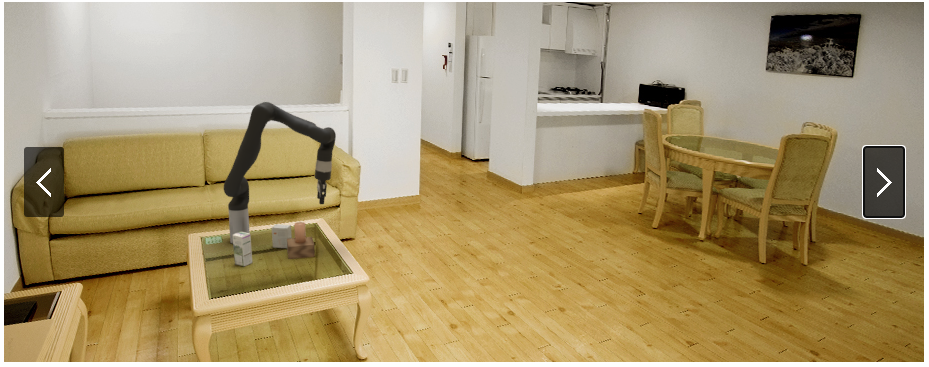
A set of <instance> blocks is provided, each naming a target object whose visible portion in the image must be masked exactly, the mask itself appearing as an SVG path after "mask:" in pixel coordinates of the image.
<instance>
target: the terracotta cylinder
mask: <svg viewBox="0 0 929 367" xmlns="http://www.w3.org/2000/svg"><path fill="white" fill-rule="evenodd" d="M306 234H307V233H306V223H305V222H303V221H298V222H295V223H294V238H295V242H296V243H305V242H306V237H307V235H306Z"/></svg>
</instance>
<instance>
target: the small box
mask: <svg viewBox="0 0 929 367" xmlns="http://www.w3.org/2000/svg"><path fill="white" fill-rule="evenodd" d="M292 234H293V233H292V225H291V224H278V223H276V224H274V225H273V226H272V227H271V236H272V237H271V238H272V240H271V241H272V248H277V249H278V248H279V249H287V239H290V238H293V236H292Z"/></svg>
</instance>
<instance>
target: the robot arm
mask: <svg viewBox="0 0 929 367" xmlns="http://www.w3.org/2000/svg"><path fill="white" fill-rule="evenodd" d="M271 121H272V122H277V123H280V124H283V125H285V126H286V127H288V128H289V129H291V130H292V131H294V132H295V133H298V134H300V135H303V136H306V137H308V138H310V139H312V140H313V141H315V142H317V143H320V144H319V145H320V146H319V147H318V149H317V152H316V161H315V166H314V167H315V168H314V170H315V171H314V179H316V180H317V184H316V190H317V194H316V195H317V196H316V198H317V199H319V200H318V201H319V202H318V203H319V204H318V205H324V204H325V200H326V199H325V198H326V197H327V186H328V183H327V181H329V180H330V181H331V176H332V167H333V166H332V165H333V163H332V161H333V150H334V148H335V147H334V146H335V143H336V132H335V130H334V128H332V127H320V126H318V125H317V124H316V123H314V122H312V121H310V120H307V119H304V118H301V117H299V116H296V115H294V114H292V113H290V112H288V111H286V110H284V109H282V108H280V107H279V106H278V105H275V104H273V103H272V102H269V101H263V102H260V103H258V104H256V105H255V106H253V108H252V110H251V112H250V117H249V121H248V125H247V128H246V131H245V133H244V135H243V138H242V141H241V143H240V144H239V148H238V149H237V150H238V151H237V154H236V157H235V158H234V162H233V164H232V167H231V169H230V172H229V173H228V175H227V177H226V179H225V181H224V183H223V192H224V195H226V197H229V198H231V200H230V201H229V202H228V204H227V206H228V207H227V209H228V219H229V224H228V228H229V237H230V238H229V239H230V244H233V236H232V235H234V234H236V233H238V232H245V233H250V232H251V231H250V218H249V202H250V185H249V181H248V179H247V178H246V177H245V176H246V174H247V172H248V171H249V170H250V169H251V168H252V166H253V165H254V164H255V162H256V161H257V159H258V156H259V154H260V151H261V149H262V136H263V135H262V134H263V132H264V130H265V127H266V126H267V124H268V122H271ZM250 234H251V233H250Z"/></svg>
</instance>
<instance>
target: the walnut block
mask: <svg viewBox="0 0 929 367" xmlns="http://www.w3.org/2000/svg"><path fill="white" fill-rule="evenodd" d="M286 250H287V258H288V260H289V259H290V260H291V259H292V260H293V259H301V258H302V259H303V258H304V259H305V258H313V257H315V256H316V254H315V243H314V240H313V237H312V236H306V242H305V243H296V242H295V237H292V238H290V239H287V248H286Z"/></svg>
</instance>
